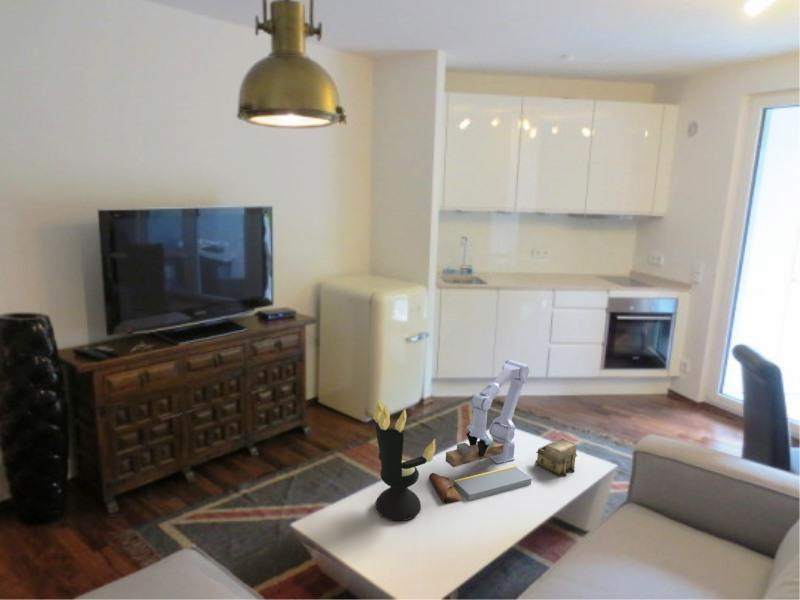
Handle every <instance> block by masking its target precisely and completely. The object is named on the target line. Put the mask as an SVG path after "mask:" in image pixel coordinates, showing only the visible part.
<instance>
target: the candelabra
mask: <svg viewBox="0 0 800 600" xmlns="http://www.w3.org/2000/svg"><path fill="white" fill-rule="evenodd" d="M407 416H408V415H407V411H406V408H404V409H403V411H402V412H401V414H400V415H399V418H398V419H397V420H396V423H395V425H394V428H389V427H390V424H391V420H390V418H391V413H390V411H389V409H388V407H387V405H386V404H383V403H382V401H381V400H380V398H379V397H378V400H377V405H376V407H375V410H374V413H373V420H374V422H375V432H376V438H377V445H378V450H379V453H378V460H379V461H380V463H381V464H380V465H381V470H380V474H379V475H380V479H381V481H382V482H383V483H384V484H386V485H387V486H389V487H388V488H387V489H384V490H383V491H382V492H381V493H380V494H379V495H378V497H377V498H376V500H375V507H374V508H375V510H376V511H377V512H378V514H379V515H381V516H382V517H383V518H386V519H387V520H390V521H394V522H395V521H396V522H397V521H398V522H402V521H408V520H409V521H410V520H411V519H413V518H415V517H416V516H417V515H418V514H419V513H420V511H421V509H422V505H421V500H420V499H419V497H418V496H417V494H416V493H415V492H413V491H412V490H411V489H410V488H408V487H412V486H413V485H415V483H417V481H418V479H419V474H420V473H419V470H418V469H417V467H418V466H422V465H424V464H426V463H431V462H432V460H434V459H433V457H434V455H435V452H436V438H434V439H433V440H432V442H431V443H430V444H429V445H428V446H426V447H425V449H424V452H423V453H422V456H417V457H415V458H412V459H408V460H404V459H403V452H404V441H405V434H404V431H403V430H404V428H405V425H406V422H407Z"/></svg>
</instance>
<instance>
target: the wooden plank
mask: <svg viewBox="0 0 800 600" xmlns="http://www.w3.org/2000/svg"><path fill="white" fill-rule="evenodd" d="M492 440H493V439H492ZM493 441H494V445H493V447H490V448H487V449H486V452H485V454H484V456H483V457H479V448H478V444H475V445H471V446H470V445H469V446H470V447H471V453H469V454H464V455H462V454H461V453H460V452H459V451H457V448H456V449H453V450H450V451H446V452H445V463H447V464H448V465H450V466H451V467H453V468H456V467H460V466H463V465H467V464H470V463H474V462H476V461H477V462H478V461H480V460H484V459H487V458H490V457H491V456H495V455H498V454H502V453H503V446H504V444H502V443H500V442H499V441H497V440H496V439H494V440H493Z"/></svg>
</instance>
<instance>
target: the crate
mask: <svg viewBox="0 0 800 600" xmlns="http://www.w3.org/2000/svg"><path fill="white" fill-rule="evenodd" d="M456 449H457V451H459V452H460V453H461V454H462V455H464V454H469V453H471V447H470V444H469V443H467V442H462V443H458V444H456Z"/></svg>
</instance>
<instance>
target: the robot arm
mask: <svg viewBox="0 0 800 600" xmlns="http://www.w3.org/2000/svg"><path fill="white" fill-rule="evenodd" d="M529 374H530V367H529V365H528V364H527V363H522V362H518V361H515V360H512V359H509V358H508V359H506V360H505V361H504V363H503V365H502V369H501V372H500V373H499V374H498V376H497V377H496V378H495V379H494V381H493V382H488V383H487V384H486V385H485V387H484V388H483V389H482V390H481V391H480V392H479V393H475V394H473V396H472V398H471V401H470V406H471V410H472V425H471V424H469V425H466V431H468V432H466V434H465V435H466V437H467V440H468V445H469V446H471V445H475V444H478V448H479V457H483V456H484V454H485V452H486V449H487V448H488V446H489V445H490V444H491V439H492V440H494V439H496V440H497V441H499V442H500V443H502V444H504V446H503V453H502V454H498V455H495V456H491V457H489V458H490V459H491V460H492V461H493V462H494V463H496V464H503V463H506V462H510V461H515V460H516V459H515V457H514V455H515V444H516V443H515V441H514V437H515V432H516V431H515V430H516V426H515V424H514V422H513V416H514V414H515V411H516V410H515V409H516V407H517V404H518V402H519V398H520V395H521V391H522V389H523V386H524V384H526V382H527V380H528V377H529ZM508 381H510V385H509V387H508V391H507V394H506V396H505V400H504V403H503V405H502V409H501V412H500V415H499V416H497V417H496V418H494V419H493V420H492V423H491V424H490V426H489V429H488V432H489V436H490V437H491V438H490V437H489V436H488V434H487V421H488V410H490V408H491V406H492V403H493V400H494V399H495V398H496V397H497V395H499V393H500V392H501V391H500V390H501V389H500V388H501V387H502V386H504V385H505V384H506V383H507V382H508ZM478 439H479V440H478ZM480 439H481V441H480Z"/></svg>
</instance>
